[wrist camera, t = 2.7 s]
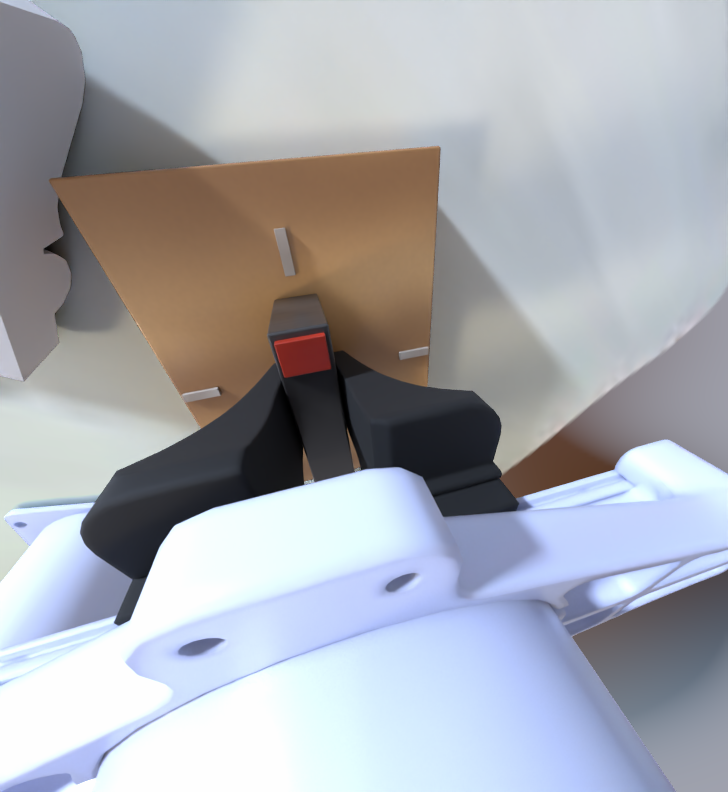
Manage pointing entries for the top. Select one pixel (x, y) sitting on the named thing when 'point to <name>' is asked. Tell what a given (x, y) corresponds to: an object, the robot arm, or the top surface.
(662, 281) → the top surface
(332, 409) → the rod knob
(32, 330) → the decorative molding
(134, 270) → the panel
